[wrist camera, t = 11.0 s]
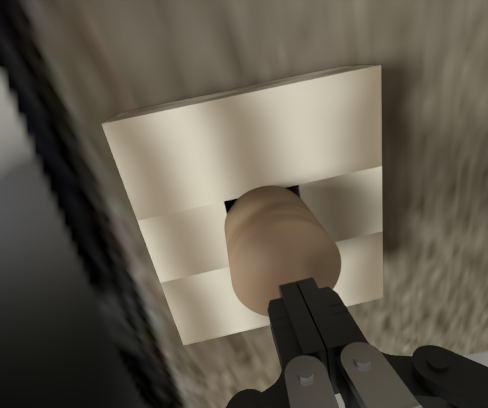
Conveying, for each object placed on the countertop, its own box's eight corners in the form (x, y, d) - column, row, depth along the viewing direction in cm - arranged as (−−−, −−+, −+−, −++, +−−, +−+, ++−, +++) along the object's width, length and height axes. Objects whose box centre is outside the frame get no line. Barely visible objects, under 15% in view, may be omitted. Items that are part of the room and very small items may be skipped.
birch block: (342, 66, 21) (381, 64, 17) (353, 260, 28) (382, 297, 23) (123, 112, 21) (101, 123, 16) (186, 299, 27) (183, 345, 23)
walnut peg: (286, 157, 23) (337, 211, 14) (294, 222, 25) (344, 303, 16) (213, 173, 23) (220, 238, 14) (228, 237, 25) (242, 327, 16)
